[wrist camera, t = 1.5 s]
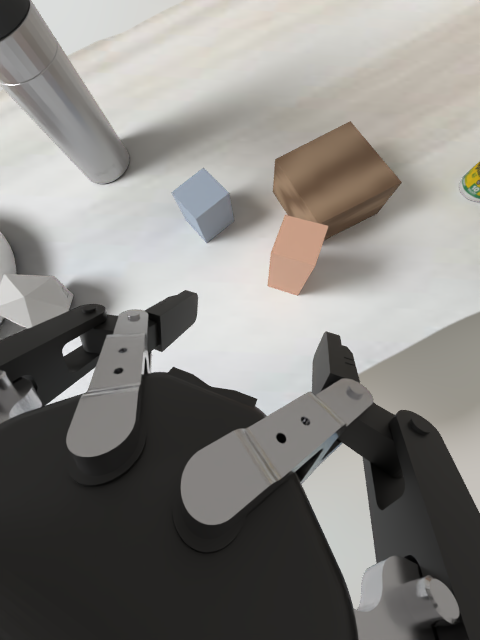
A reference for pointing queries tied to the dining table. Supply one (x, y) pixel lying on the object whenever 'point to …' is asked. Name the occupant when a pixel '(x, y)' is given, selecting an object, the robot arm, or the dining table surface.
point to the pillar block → (295, 253)
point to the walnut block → (334, 180)
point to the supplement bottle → (471, 184)
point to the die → (32, 298)
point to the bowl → (6, 260)
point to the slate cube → (204, 204)
